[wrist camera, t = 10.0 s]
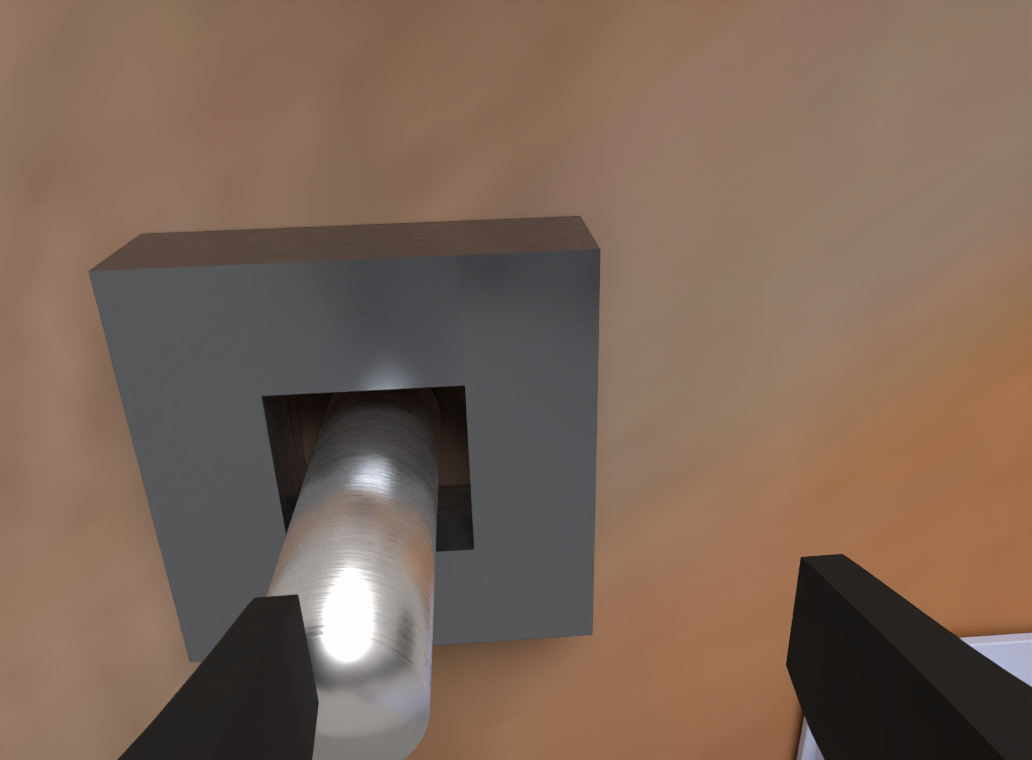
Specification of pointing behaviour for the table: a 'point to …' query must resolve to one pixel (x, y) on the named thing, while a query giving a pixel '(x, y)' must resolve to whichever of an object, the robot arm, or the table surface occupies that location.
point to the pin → (368, 570)
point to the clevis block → (361, 367)
